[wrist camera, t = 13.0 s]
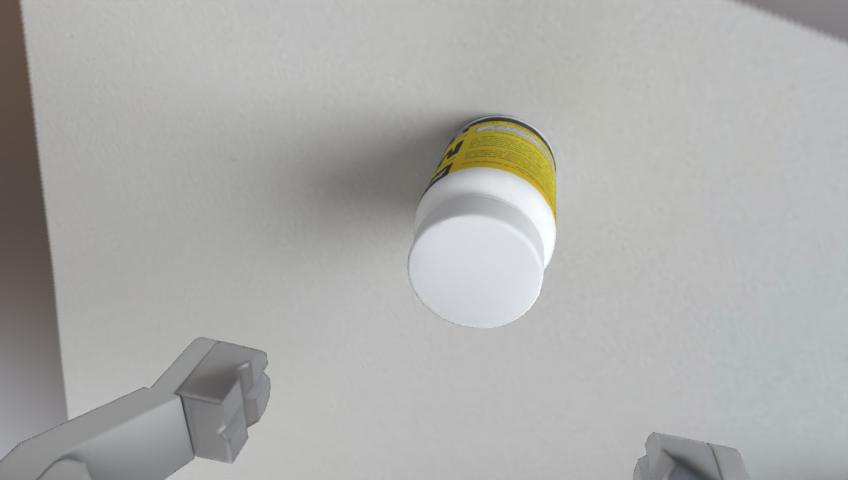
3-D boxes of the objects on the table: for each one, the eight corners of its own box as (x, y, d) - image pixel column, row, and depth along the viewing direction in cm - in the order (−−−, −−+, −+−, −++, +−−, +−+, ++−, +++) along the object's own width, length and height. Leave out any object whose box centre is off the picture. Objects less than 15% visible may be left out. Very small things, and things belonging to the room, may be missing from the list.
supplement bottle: (456, 100, 21) (408, 180, 14) (571, 127, 21) (582, 225, 13) (435, 203, 23) (384, 316, 16) (537, 229, 23) (531, 357, 16)
